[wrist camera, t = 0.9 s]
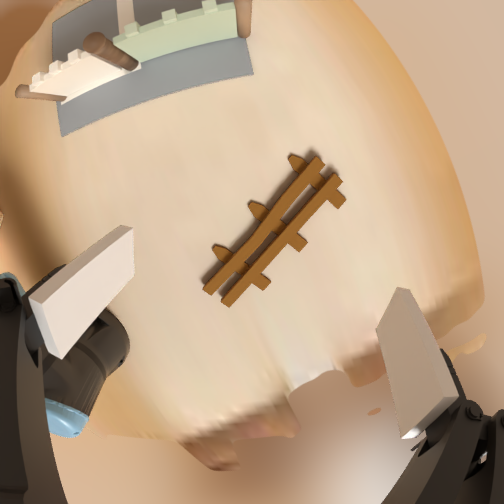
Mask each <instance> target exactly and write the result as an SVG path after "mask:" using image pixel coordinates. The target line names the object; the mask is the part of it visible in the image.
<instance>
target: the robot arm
mask: <svg viewBox="0 0 504 504" xmlns="http://www.w3.org/2000/svg"><path fill="white" fill-rule="evenodd" d="M134 275H135V273H134V248H133V228H131V227H127V226H122V225H120V226H119V227H117V228H116V229H114V230H113V231H111V232H110V233H109V234H107V235H106V236H104V237H103V238H102V239H100V240H99V241H98V242H96V243H95V244H93V245H92V246H91V247H89V248H88V249H87V250H85V251H84V252H83V253H81V254H80V255H79V256H78V257H76V258H75V259H74V260H72V261H71V262H70V263H69V264H67V265H66V264H65V265H62V266H60V267H58V268H55V269H54V270H53V271H52V272H50V273H49V274H48V276H45V277H44V278H43V279H42V280H41V281H39V282H38V283H37V284H36V285H34V286H33V287H32V288H31V289H30V290H29V291H27V292H25V291H24V289H23V287H22V286H21V284H20V283H19V281H18V279H17V278H16V276H15V275H13V274H12V273H9V272H6V273H2V274H0V504H68V503H67V500H66V497H65V494H64V491H63V487H62V484H61V481H60V477H59V473H58V470H57V466H56V462H55V457H54V453H53V448H52V444H51V438H50V433H49V432H51V433H53V434H56V435H59V436H62V437H67V438H72V437H76V436H78V435H79V434H80V433H81V432H82V430H83V428H84V426H85V424H86V423H87V422H88V420H89V416H90V413H91V411H92V409H93V406H94V404H95V402H96V399H97V397H98V395H99V393H100V391H101V388H102V386H103V384H104V382H105V380H106V378H107V377H108V376H109V375H110V374H112V373H113V372H114V371H115V370H116V369H117V368H118V367H120V366H121V365H122V364H123V363H124V361H125V359H126V357H127V355H128V353H129V349H130V342H129V338H128V335H127V333H126V331H125V329H124V328H123V326H122V325H121V323H120V322H119V321H118V320H117V319H116V318H115V317H114V316H113V315H112V314H111V313H110V312H108V311H107V310H105V309H104V308H105V307H106V306H107V305H108V304H109V303H110V302H111V300H112V299H113V298H114V297H115V296H116V295H117V294H118V293H119V292H120V290H121V289H122V288H123V287H124V286H125V285H126V284H127V283H128V282H129V281H130V280H131V278H132V277H133V276H134ZM376 333H377V336H378V340H379V344H380V347H381V351H382V355H383V358H384V362H385V366H386V370H387V374H388V378H389V383H390V387H391V391H392V395H393V400H394V405H395V410H396V415H397V420H398V425H399V431H400V437H401V438H402V439H403V438H416V437H417V436H418V435H420V434H421V433H422V432H423V431H424V430H425V431H426V435H427V436H426V437H425V438H424V439H423V440H422V441H420V442H419V443H418V444H417V445H416V446H414V447H413V448H412V449H411V451H414V450H415V449H416V448H418V449H417V450H416V452H415V454H414V456H413V458H412V459H411V461H410V462H409V464H408V466H407V467H406V469H405V470H404V472H403V473H402V475H401V476H400V478H399V480H398V481H397V483H396V484H395V485H394V487H393V488H392V490H391V491H390V493H389V494H388V495H387V497H386V498H385V499H384V501H383V502H382V503H381V504H504V410H503V409H501V410H499V411H498V412H497V413H496V414H495V415H494V416H493V417H491V416H487V415H483V411H482V409H481V408H480V406H479V405H478V404H477V403H476V402H474V401H472V400H467V399H466V396H465V394H464V391H463V388H462V386H461V384H460V381H459V379H458V376H457V375H456V372H455V369H454V368H453V365H452V362H451V360H450V358H449V356H448V355H447V354H446V353H445V352H444V350H443V349H439V347H438V344H437V342H436V340H435V338H434V336H433V334H432V332H431V330H430V328H429V326H428V324H427V322H426V320H425V318H424V316H423V314H422V312H421V310H420V308H419V306H418V304H417V302H416V300H415V299H414V297H413V295H412V293H411V291H410V290H409V289H404V288H400V287H397V288H396V290H395V293H394V295H393V297H392V299H391V301H390V303H389V305H388V307H387V309H386V311H385V313H384V315H383V317H382V319H381V320H380V322H379V324H378V326H377V328H376ZM486 454H487V458H486V461H484V462H483V463H481V458H482V457H483V456H485V455H486Z"/></svg>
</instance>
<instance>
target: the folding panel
mask: <svg viewBox="0 0 504 504" xmlns="http://www.w3.org/2000/svg"><path fill="white" fill-rule="evenodd" d="M202 6H203V8H200V9H196V10H192V11H188V12H185V13H181V14H177V12H176V10H175V9H171V10H168V11H164V12H161V13H162V19H161V20H158V21H155V22H152V23H149V24H146V25H143V26H140V25H139V24H138V23H137V22H133V23H131V24H128V25H126V26H124V29H125V33H123V34H120V35H118V36H116V37H114V38H113V45H115V46H116V47H118V48H119V49H121V50H123V51H124V52H126V53H127V54H129V55H130V56H132V57H133V58H135V59H136V60H138V61H139V62H141V63H142V62H144V61H147V60H150V59H153V58H156V57H159V56H162V55H165V54H168V53H172V52H175V51H179V50H182V49H186V48H190V47H193V46H197V45H201V44H206V43H210V42H215V41H219V40H224V39H229V38H235V37H240V38H247V37H249V36H250V33H251V13H252V0H234V2H230V3H225V4H219V5H216V0H206V1H202Z"/></svg>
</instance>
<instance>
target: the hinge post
mask: <svg viewBox="0 0 504 504" xmlns="http://www.w3.org/2000/svg"><path fill="white" fill-rule="evenodd" d="M83 49H84V50H85V51H86V52H87V53H94V54H96V55H98V56H100V57H102V58H104V59H106V60H108V61H110V62H112V63H114V64H116V65H118V66H120V67H122V68H124V69H126V70H128V71H132V70H134V69H136V68H137V66H138V64H139V61H138V60H136V59H135V58H133V57H132V56H130V55H129V54H127V53H126V52H124V51H123V50H121V49H119V48H118V47H116V46H115V45H113V42H112V41H110V40H109V39H107V38H105V36H104V34H103V33H101V32H93V33H90V34H89V35H87V36H86V37H85V39H84V41H83Z"/></svg>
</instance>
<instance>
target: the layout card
mask: <svg viewBox="0 0 504 504" xmlns="http://www.w3.org/2000/svg"><path fill="white" fill-rule="evenodd" d="M202 1H206V0H92V1H90V2H88V3H86V4H84V5H82V6H80V7H78V8H77V9H75V10H73V11H71V12H70V13H68V14H66V15H65V16H63V17H61V18H60V19H58V20H56V21H55V22H53V26H52V49H53V62H55V61H57V60H59V61H62V62H66V61H68V53H70V52H72V51H74V50H76V49H80V50H82V51H85V50H84V49H83V41H84V39H85V37H86V36H87V35H89V34H90V33H93V32H101V33H103V34H104V36H105V38H107V39H109V40H110V41H112V42H113V38H114V37H116V36H118V35H120V34H123V33H125V29H124V26H126V25H128V24H131V23H133V22H137V23H138V24H139V25H140V26H143V25H146V24H149V23H152V22H155V21H158V20H161V19H162V13H161V12H164V11H168V10H171V9H175V10H176V12H177V14H181V13H185V12H188V11H192V10H196V9H200V8H203V6H202ZM230 2H234V0H216V5H219V4H225V3H230ZM121 68H122V67H121ZM250 75H254V73H253V69H252V64H251V60H250V56H249V51H248V47H247V43H246V38H240V37H235V38H229V39H224V40H219V41H215V42H210V43H206V44H201V45H197V46H193V47H190V48H186V49H182V50H179V51H175V52H172V53H168V54H165V55H162V56H159V57H156V58H153V59H150V60H147V61H144V62H142V63H141V62H139V64H138V66H137V68H136V69H134V70H132V71H128V70H126V69H124V68H122V70H121V71H119V72H116V73H114V74H111V75H109V76H107V77H105V78H102V79H100V80H98V81H96V82H94V83H92V84H90V85H88V86H86V87H84V88H82V89H80V90H78V91H76V92H74V93H72V94H70V95H68V96H67V98H66V100H65V101H63V102H60V101H56V103H57V111H58V118H59V124H60V131H61V136H62V137H64V136H66V135H68V134H70V133H72V132H74V131H76V130H78V129H80V128H82V127H84V126H86V125H88V124H91V123H93V122H95V121H97V120H100V119H102V118H104V117H107V116H109V115H112V114H114V113H117V112H119V111H122V110H124V109H127V108H130V107H132V106H135V105H138V104H141V103H144V102H147V101H150V100H153V99H156V98H159V97H162V96H165V95H168V94H172V93H175V92H179V91H182V90H186V89H190V88H193V87H197V86H201V85H205V84H210V83H214V82H219V81H223V80H228V79H233V78H238V77H244V76H250Z"/></svg>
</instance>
